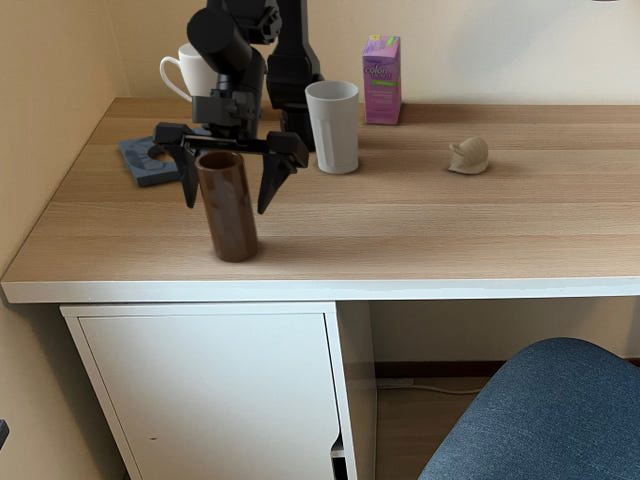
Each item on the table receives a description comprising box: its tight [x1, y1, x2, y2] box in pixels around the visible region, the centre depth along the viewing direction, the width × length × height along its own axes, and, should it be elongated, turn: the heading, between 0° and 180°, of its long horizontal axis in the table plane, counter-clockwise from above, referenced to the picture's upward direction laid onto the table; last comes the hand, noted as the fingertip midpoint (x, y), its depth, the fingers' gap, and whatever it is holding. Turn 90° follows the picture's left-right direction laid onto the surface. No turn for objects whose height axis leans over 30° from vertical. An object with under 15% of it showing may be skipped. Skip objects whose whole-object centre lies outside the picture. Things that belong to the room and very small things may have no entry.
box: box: [361, 34, 403, 126], centre depth 137 cm, size 10×6×12 cm, turn 179°
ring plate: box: [117, 126, 211, 188], centre depth 124 cm, size 14×14×2 cm
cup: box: [305, 79, 360, 175], centre depth 121 cm, size 8×8×12 cm
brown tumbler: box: [195, 150, 260, 263], centre depth 101 cm, size 6×6×13 cm
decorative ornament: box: [447, 136, 490, 175], centre depth 123 cm, size 4×8×5 cm, turn 129°
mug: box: [159, 42, 217, 104], centre depth 133 cm, size 12×8×11 cm
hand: (224, 210), depth 99 cm, fingers open, 9 cm apart
